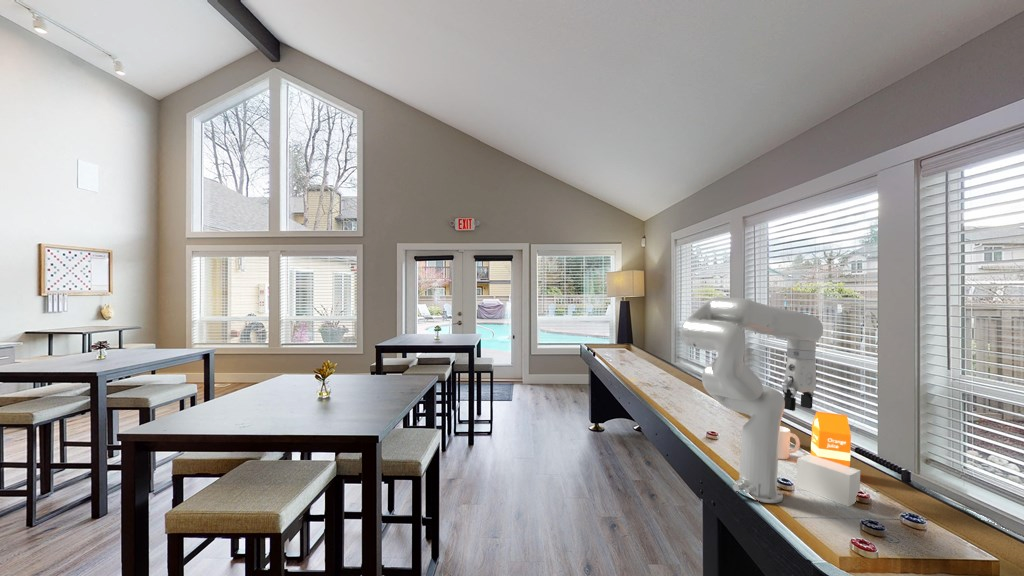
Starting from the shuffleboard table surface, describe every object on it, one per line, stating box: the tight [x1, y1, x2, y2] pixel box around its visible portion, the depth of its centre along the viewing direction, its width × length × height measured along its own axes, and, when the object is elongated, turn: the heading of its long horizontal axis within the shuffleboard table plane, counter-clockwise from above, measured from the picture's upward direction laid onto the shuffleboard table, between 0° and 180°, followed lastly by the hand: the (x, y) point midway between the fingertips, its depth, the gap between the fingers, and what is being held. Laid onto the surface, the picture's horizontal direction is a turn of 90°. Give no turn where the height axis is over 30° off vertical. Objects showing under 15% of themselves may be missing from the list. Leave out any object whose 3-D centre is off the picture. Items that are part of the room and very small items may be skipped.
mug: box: [778, 425, 801, 460], centre depth 154 cm, size 12×8×10 cm
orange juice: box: [810, 411, 852, 467], centre depth 142 cm, size 8×9×20 cm
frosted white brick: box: [795, 453, 861, 508], centre depth 125 cm, size 8×13×9 cm, turn 32°
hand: (797, 408), depth 133 cm, fingers open, 9 cm apart
